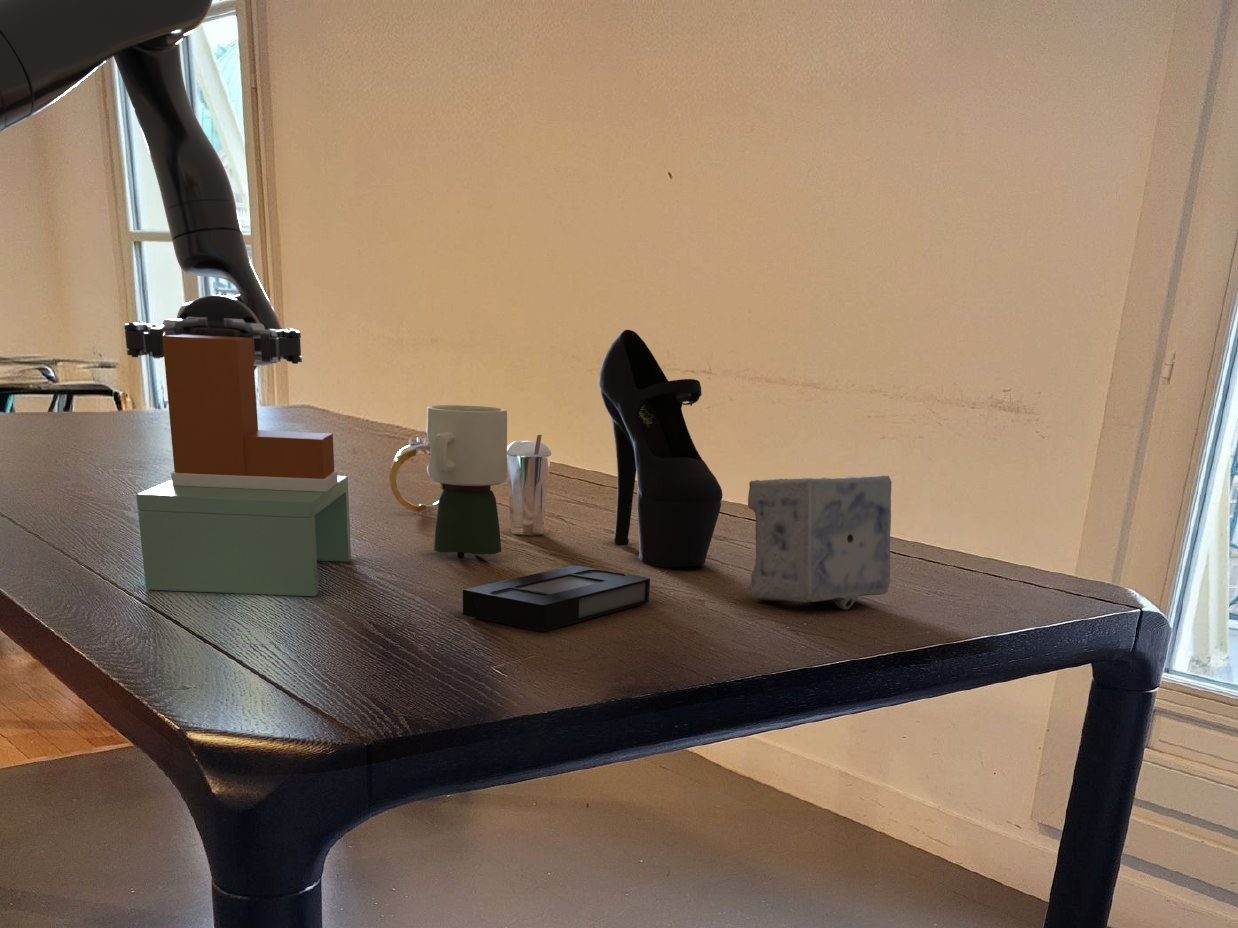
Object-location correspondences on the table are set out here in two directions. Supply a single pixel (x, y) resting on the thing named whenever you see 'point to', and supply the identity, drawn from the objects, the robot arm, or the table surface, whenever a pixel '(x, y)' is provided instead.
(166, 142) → the robot arm
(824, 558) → the incense holder
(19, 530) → the table surface
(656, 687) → the table surface
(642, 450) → the high-heeled shoe
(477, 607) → the vhs tape
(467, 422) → the character mug
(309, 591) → the shoe shelf
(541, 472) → the milkshake
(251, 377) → the ankle boot
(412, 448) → the ring
